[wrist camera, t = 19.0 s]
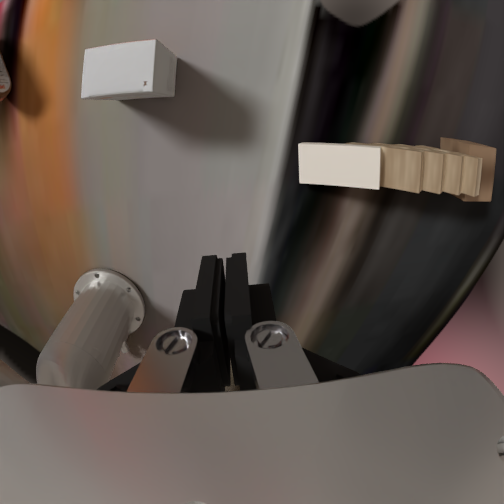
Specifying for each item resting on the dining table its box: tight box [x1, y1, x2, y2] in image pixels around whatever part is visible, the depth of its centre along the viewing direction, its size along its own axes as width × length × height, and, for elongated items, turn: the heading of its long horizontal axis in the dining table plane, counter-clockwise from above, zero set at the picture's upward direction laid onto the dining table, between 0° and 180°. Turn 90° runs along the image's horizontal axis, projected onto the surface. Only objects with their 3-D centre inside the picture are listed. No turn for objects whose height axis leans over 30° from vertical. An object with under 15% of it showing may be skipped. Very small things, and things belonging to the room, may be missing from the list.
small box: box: [81, 39, 177, 100], centre depth 28 cm, size 8×6×10 cm
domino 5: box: [416, 145, 482, 197], centre depth 34 cm, size 2×5×10 cm, turn 4°
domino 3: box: [372, 143, 446, 194], centre depth 35 cm, size 2×5×10 cm
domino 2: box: [345, 142, 424, 193], centre depth 35 cm, size 2×5×10 cm
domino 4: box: [394, 144, 465, 195], centre depth 35 cm, size 2×5×10 cm
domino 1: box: [298, 142, 381, 190], centre depth 36 cm, size 2×5×10 cm
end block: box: [440, 137, 496, 201], centre depth 36 cm, size 8×6×7 cm
